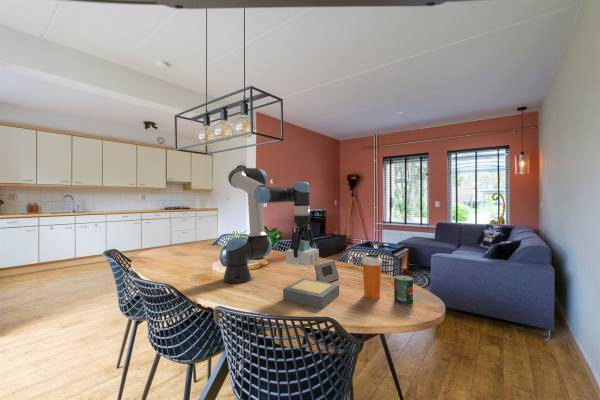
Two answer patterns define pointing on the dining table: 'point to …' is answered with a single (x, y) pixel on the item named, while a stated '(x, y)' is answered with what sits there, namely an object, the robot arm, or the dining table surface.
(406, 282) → the canned tomato
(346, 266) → the dining table surface
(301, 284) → the dock
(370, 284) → the shaker bottle
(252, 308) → the dining table surface
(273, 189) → the robot arm
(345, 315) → the dining table surface
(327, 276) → the digital clock
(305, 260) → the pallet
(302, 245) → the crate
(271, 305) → the dining table surface
